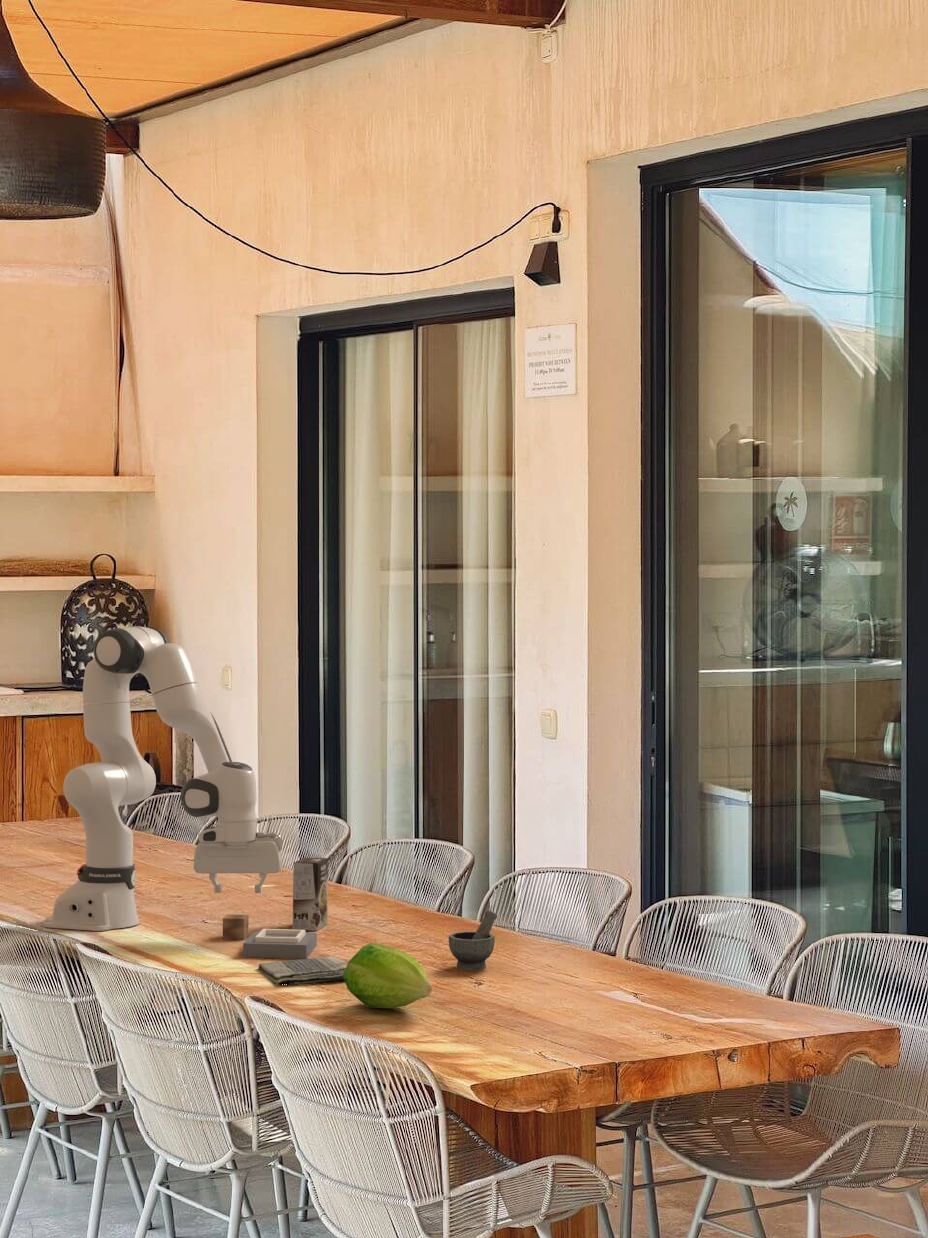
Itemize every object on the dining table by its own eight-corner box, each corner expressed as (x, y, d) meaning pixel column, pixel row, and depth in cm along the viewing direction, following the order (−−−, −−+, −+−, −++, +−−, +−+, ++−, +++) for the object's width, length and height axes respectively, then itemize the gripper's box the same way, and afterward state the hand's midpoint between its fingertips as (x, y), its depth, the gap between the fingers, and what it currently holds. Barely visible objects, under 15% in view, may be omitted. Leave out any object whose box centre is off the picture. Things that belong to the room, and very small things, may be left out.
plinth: (243, 957, 395) (243, 938, 395) (255, 944, 409) (255, 926, 409) (306, 958, 394) (306, 940, 394) (316, 946, 408) (316, 928, 408)
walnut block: (222, 940, 414) (222, 918, 414) (226, 935, 419) (227, 914, 419) (244, 940, 414) (244, 919, 414) (248, 936, 419) (248, 915, 419)
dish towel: (255, 971, 383) (255, 956, 383) (336, 966, 390) (336, 951, 390) (278, 990, 366) (278, 974, 366) (362, 984, 372) (362, 969, 372)
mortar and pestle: (464, 974, 380) (464, 917, 380) (440, 966, 388) (440, 910, 388) (507, 968, 386) (508, 913, 386) (483, 960, 394) (484, 906, 394)
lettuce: (397, 1026, 335) (398, 962, 335) (331, 1006, 350) (331, 945, 350) (453, 1015, 344) (454, 952, 344) (386, 996, 359) (387, 936, 359)
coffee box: (317, 931, 425) (318, 863, 425) (291, 930, 426) (292, 862, 426) (328, 924, 434) (329, 857, 434) (302, 923, 435) (303, 856, 435)
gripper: (284, 831, 418) (285, 890, 418) (197, 831, 420) (198, 890, 420) (279, 834, 412) (280, 894, 412) (191, 834, 413) (192, 894, 413)
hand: (238, 892), depth 416 cm, fingers open, 8 cm apart
